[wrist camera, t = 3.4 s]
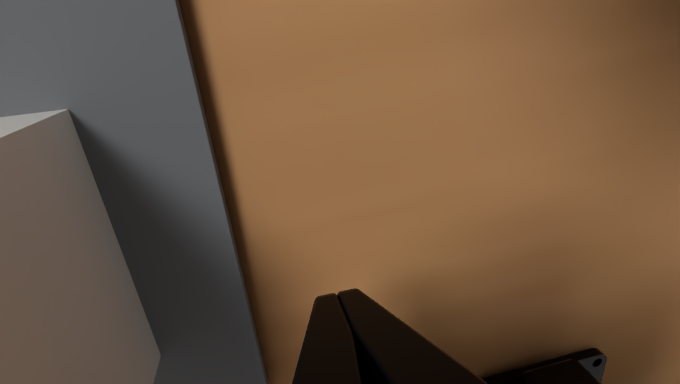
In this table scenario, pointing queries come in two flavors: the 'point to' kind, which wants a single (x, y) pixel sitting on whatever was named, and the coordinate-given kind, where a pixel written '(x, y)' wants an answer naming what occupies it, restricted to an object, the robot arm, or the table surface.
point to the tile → (63, 266)
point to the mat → (143, 167)
